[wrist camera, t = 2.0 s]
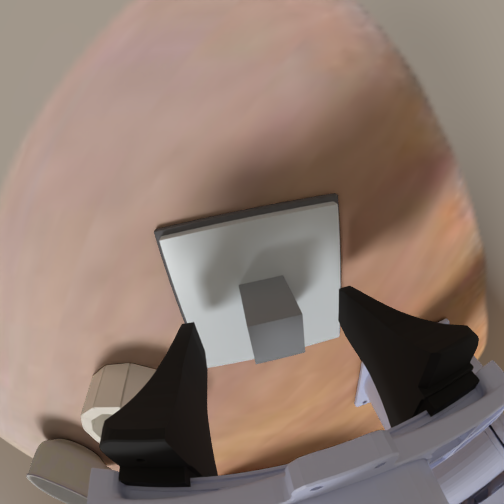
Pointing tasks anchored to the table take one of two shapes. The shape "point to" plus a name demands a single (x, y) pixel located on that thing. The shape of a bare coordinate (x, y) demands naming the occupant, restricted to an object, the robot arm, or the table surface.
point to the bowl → (111, 393)
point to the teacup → (64, 470)
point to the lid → (259, 282)
